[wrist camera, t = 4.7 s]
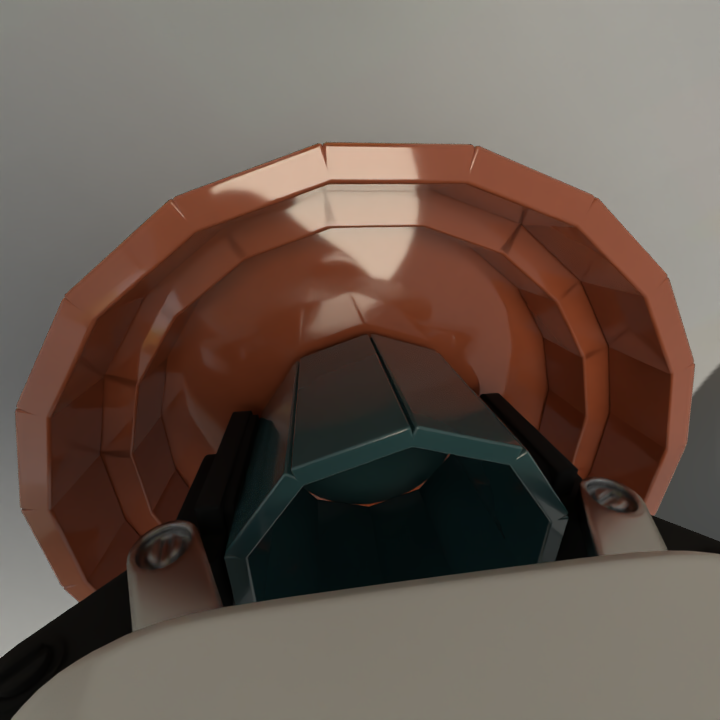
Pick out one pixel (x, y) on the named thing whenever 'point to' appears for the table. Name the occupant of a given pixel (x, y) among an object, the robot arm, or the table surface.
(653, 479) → the terracotta plant saucer
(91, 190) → the table surface
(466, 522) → the teal faceted pot
